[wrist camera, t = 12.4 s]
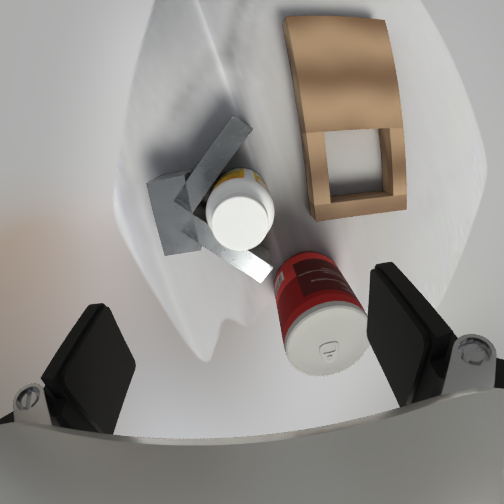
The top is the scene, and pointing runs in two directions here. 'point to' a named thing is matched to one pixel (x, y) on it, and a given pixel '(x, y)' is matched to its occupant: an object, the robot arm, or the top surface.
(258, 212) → the supplement bottle
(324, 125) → the wooden board with cutout
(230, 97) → the top surface
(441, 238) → the top surface
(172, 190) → the v block
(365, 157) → the top surface
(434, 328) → the robot arm
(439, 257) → the top surface
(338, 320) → the canned food
